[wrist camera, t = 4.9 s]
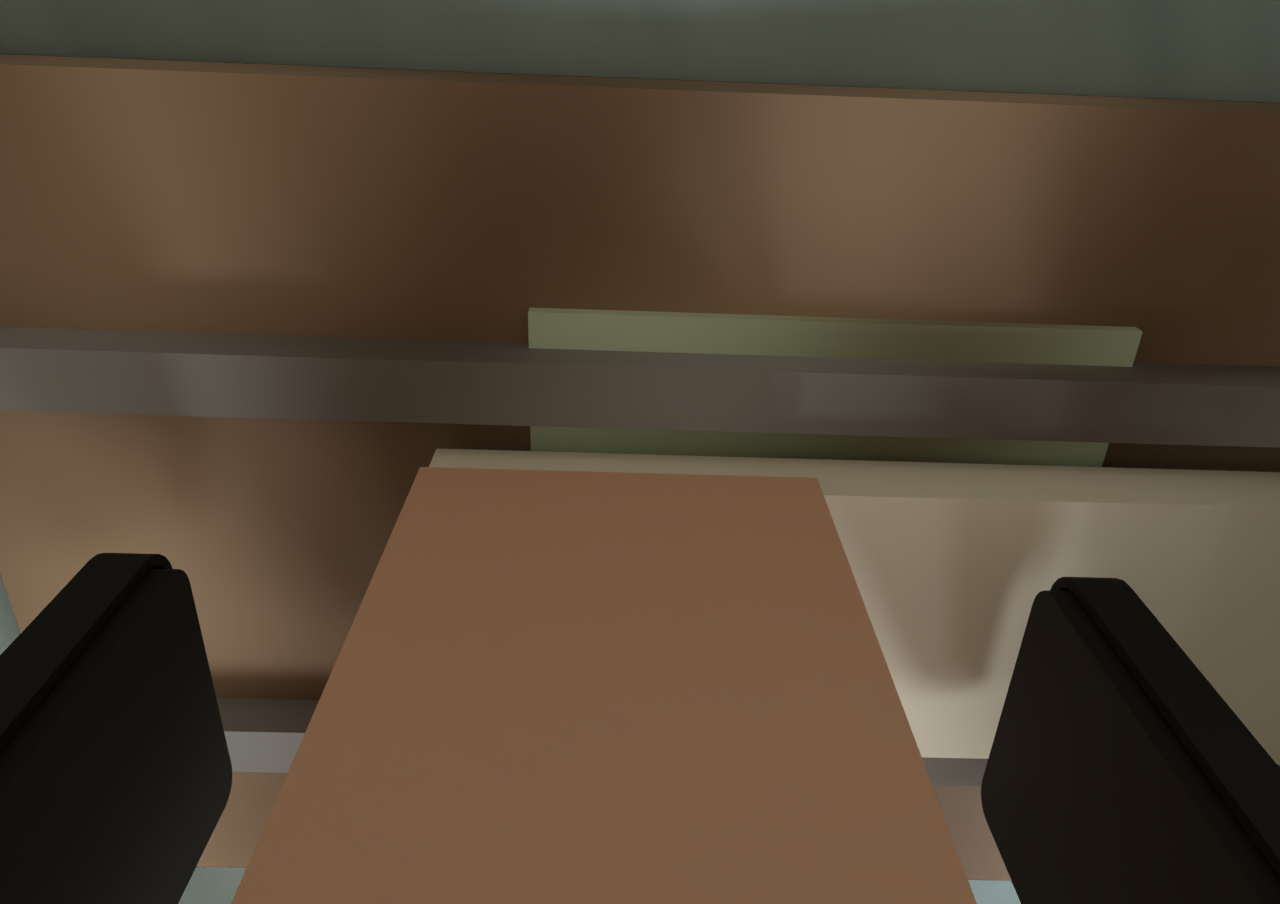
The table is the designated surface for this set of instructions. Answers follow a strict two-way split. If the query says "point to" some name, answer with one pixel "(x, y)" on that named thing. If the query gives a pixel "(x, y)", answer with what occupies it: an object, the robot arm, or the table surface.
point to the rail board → (579, 315)
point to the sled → (724, 670)
